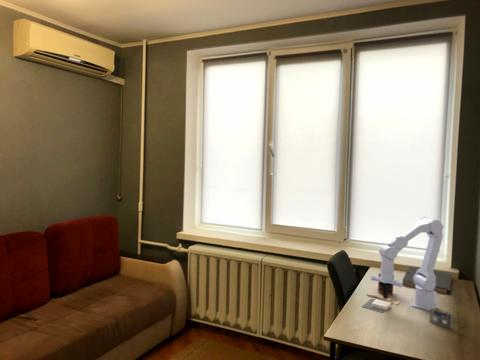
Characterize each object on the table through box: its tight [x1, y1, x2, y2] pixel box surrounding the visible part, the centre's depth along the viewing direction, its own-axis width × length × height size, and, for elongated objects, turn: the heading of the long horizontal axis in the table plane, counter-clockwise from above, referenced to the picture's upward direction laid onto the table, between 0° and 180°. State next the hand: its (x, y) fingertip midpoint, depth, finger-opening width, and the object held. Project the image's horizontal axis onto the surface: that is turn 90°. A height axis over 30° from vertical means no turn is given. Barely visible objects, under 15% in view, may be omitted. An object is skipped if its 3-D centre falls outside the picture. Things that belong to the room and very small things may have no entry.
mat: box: [361, 298, 386, 314], centre depth 183 cm, size 10×14×1 cm
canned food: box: [377, 270, 395, 296], centre depth 201 cm, size 8×8×11 cm
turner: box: [366, 293, 401, 306], centre depth 192 cm, size 16×5×1 cm, turn 51°
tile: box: [372, 298, 392, 311], centre depth 182 cm, size 2×7×7 cm
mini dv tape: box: [429, 309, 453, 329], centre depth 164 cm, size 8×2×6 cm, turn 41°
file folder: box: [402, 266, 452, 295], centre depth 222 cm, size 33×4×24 cm
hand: (385, 297), depth 181 cm, fingers closed
